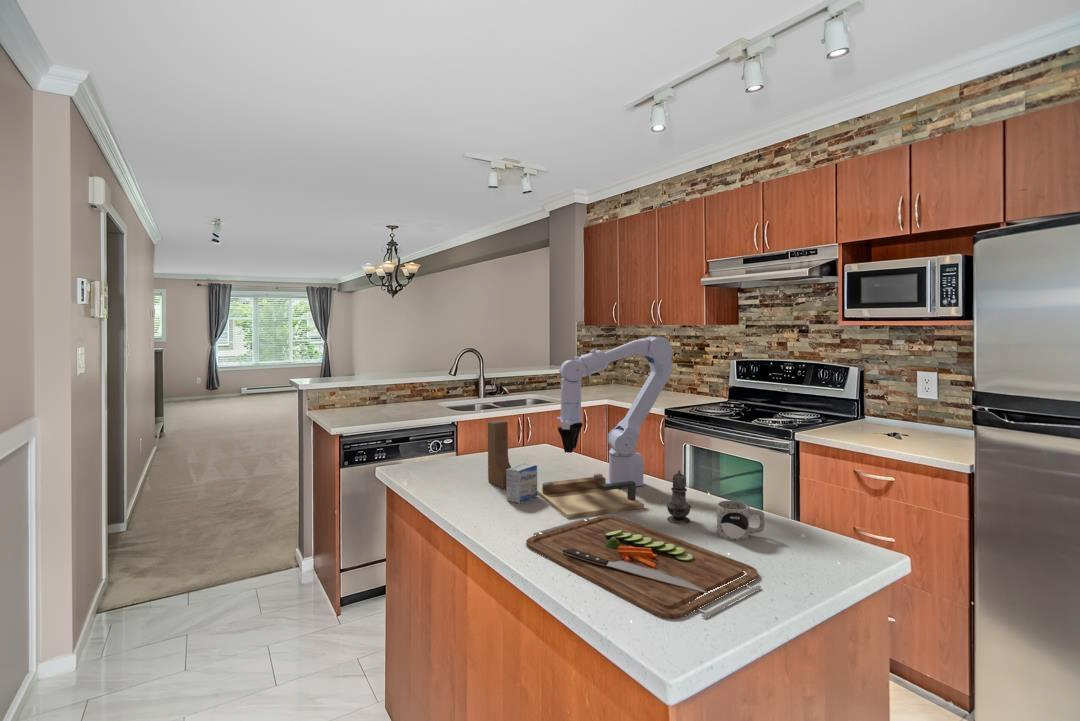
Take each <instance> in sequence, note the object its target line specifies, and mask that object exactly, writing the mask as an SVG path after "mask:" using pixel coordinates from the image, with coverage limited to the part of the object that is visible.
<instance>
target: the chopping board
mask: <svg viewBox="0 0 1080 721" xmlns="http://www.w3.org/2000/svg"><path fill="white" fill-rule="evenodd" d="M532 535H533V536H530V537H528V538H527V539H526V541H525V546H527V547H526V548H527V549H529V550H530V551H532V550H533V552H534V551H535V552H534V553H536V552H537V553H536V554H538V553H539V554H538V555H540V554H541V555H540V556H542V555H543V556H542V557H544V556H545V557H544V558H545V559H548V558H549V559H550V560H549V559H548V560H549V561H551V560H552V561H551V562H553V561H554V562H553V563H555V562H556V563H555V564H557V563H558V564H557V565H559V566H561V567H563V568H564V569H566V568H567V570H568V571H570V572H572V573H574V574H576V575H578V576H579V577H582V578H584V579H585V578H586V580H587V581H590V582H592V584H595V585H597V586H599V587H601V588H603V589H604V590H607V591H608V590H609V591H608V592H610V593H611V594H613V595H616V596H618V597H620V598H622V599H623V600H625V601H626V602H630V603H631V604H633V605H634V606H637V607H639V608H640V609H643V610H644V611H646V612H648V613H650V614H652V615H654V616H657V617H659V618H661V619H667V620H673V619H674V620H675V619H681V617H682V618H684V616H685V615H687V616H688V614H689V613H691V612H693V611H694V610H698V611H700V612H699V613H701V612H702V613H701V614H702V615H701V616H702V617H704V618H707V617H708V616H710V615H712V614H714V615H716V614H717V613H716V612H718V611H720V610H722V609H723V608H724V607H727V606H728V605H729V604H731V603H733V602H735V601H736V600H739V599H740V598H742V597H744V596H746V595H748V594H750V593H752V592H754V591H756V590H758V589H760V588H762V586H761V585H760V584H759V585H757V586H755V587H753V586H751V585H749V584H750V583H749V582H750V581H752V580H754V579H756V578H757V577H758V578H759V573H758V570H757V569H756V568H755V567H753V566H751V565H749V564H747V563H743V562H742V561H739V560H736V559H733V558H731V557H728V556H726V555H722V554H720V553H717V552H714V551H712V550H709V549H706V548H703V547H701V546H699V545H696V544H693V543H691V542H689V541H685V540H682V539H680V538H678V537H674V536H672V535H669V534H666V533H664V532H661V531H658V530H655V529H653V528H650V527H648V526H645V525H642V524H639V523H636V522H634V521H631V520H629V519H626V518H623V517H620V516H618V515H617V516H616V515H601V516H597V517H594V518H589V517H588V516H586V517H584V518H580V519H577V520H572V521H570V522H567V523H562V524H560V525H555V526H552V527H548V528H546V529H542V530H539V531H535V532H532ZM535 535H536V536H535ZM743 571H745V572H746V573H747V575H745V576H743V575H744V574H745V573H744V572H743ZM741 576H743V577H741ZM739 577H741V578H739ZM737 578H739V579H737ZM758 578H757V579H758ZM735 579H737V580H735ZM757 579H756V580H757ZM733 580H735V581H733ZM730 581H733V582H731V583H729V584H727V583H728V582H730ZM747 583H749V584H748V585H746V584H747ZM724 584H727V585H725V586H723V587H721V588H719V589H717V590H715V591H713V592H710V593H708V591H710V590H713V589H715V588H717V587H720V586H722V585H724ZM743 585H745V586H747V587H750V588H752V589H748V590H747V591H745V592H743V593H741V594H739V595H737V596H736V597H734V598H731V599H730V600H728V601H726V602H724V603H722V604H720V605H718V606H716V607H714V608H713V609H710V610H709V611H705V610H704V609H703V607H702V606H704V605H706V604H708V603H710V602H712V601H714V600H715V599H717V598H719V597H721V596H723V595H725V594H726V593H729V592H731V591H733V590H735V589H737V588H738V587H741V586H743ZM704 593H708V594H706V595H704V596H702V597H700V598H698V599H696V598H697V597H699V596H701V595H703V594H704ZM695 599H696V600H695ZM689 602H690V603H689ZM714 602H715V601H714ZM712 603H713V602H712ZM710 604H711V603H710ZM708 605H709V604H708ZM706 606H707V605H706ZM700 607H702V608H700ZM704 607H705V606H704ZM727 608H728V607H727ZM723 610H724V609H723ZM723 610H722V611H723ZM698 611H697V612H698ZM720 612H721V611H720ZM693 613H694V612H693ZM703 613H704V614H703ZM715 613H716V614H715ZM718 613H719V612H718ZM691 614H692V613H691ZM689 615H690V614H689ZM712 616H713V615H712ZM685 617H686V616H685ZM702 617H701V618H702ZM710 617H711V616H710ZM704 618H703V619H704ZM708 618H709V617H708ZM708 618H707V619H708Z"/></svg>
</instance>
